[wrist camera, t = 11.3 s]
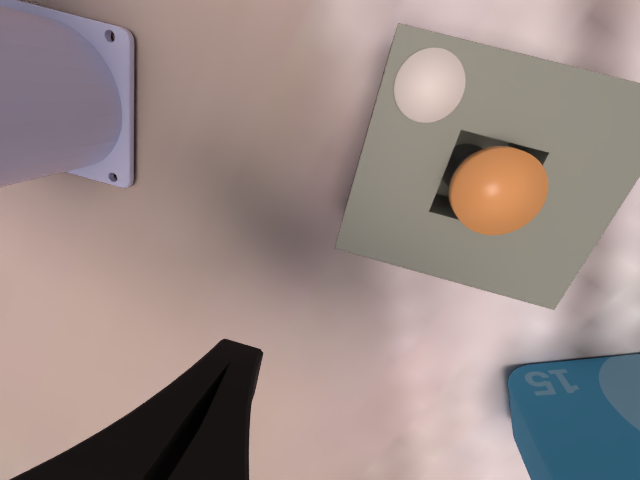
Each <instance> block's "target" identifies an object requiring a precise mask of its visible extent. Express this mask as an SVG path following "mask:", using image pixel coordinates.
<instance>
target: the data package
mask: <svg viewBox="0 0 640 480" xmlns="http://www.w3.org/2000/svg"><path fill="white" fill-rule="evenodd" d="M508 390H509V400H510V409H511V419H512V429H513V436H514V439H515V442H516V444H517V447H518V449H519V452H520V454H521V456H522V459H523V461H524V464H525V466H526V469H527V471H528V474H529V476H530V478H531V480H640V354H632V355H622V356H611V357H601V358H591V359H580V360H570V361H560V362H549V363H539V364H529V365H524V366H521V367H519V368H517V369H515V370H514V371H513V372H512V373H511V374H510V376H509V379H508Z"/></svg>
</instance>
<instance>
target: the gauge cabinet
mask: <svg viewBox="0 0 640 480" xmlns="http://www.w3.org/2000/svg"><path fill="white" fill-rule="evenodd" d="M460 144H474V145H477V146H479V147H481V148H483V149H485V148H488V147H493V146H508V147H513V148H516V149H519V150H522V151H525V152H527V153H529V154H531V155H532V156H534V157H535V158H536V159H537V160H538V161H539V162H540V163H541V164H542V166H543V167H544V169H545V171H546V174H547V177H548V194H547V197H546V200H545V203H544V205H543V207H542V208H541V210H540V211H539V213H538V214H537V215H536V216H535V217H534V218H533V219H532V220H531V221H530V222H529V223H527V224H526V225H525V226H523V227H521V228H520V229H518V230H516V231H513V232H510V233H507V234H502V235H484V234H480V233H477V232H474V231H472V230H470V229H469V228H467V227H466V226H465V225H464V224H463V223H462V222H461V221H460V220H459V219H458V217H457V216H456V214H455V213H454V211H453V210H452V207H451V205H450V201H449V187H448V186H447V184H446V183H445V182H444V181H443V179H442V177H443V175H444V172H445V169H446V167H447V164H448V162H449V159H450V157H451V154H452V152H453V149H454V147H455V146H457V145H460ZM639 177H640V83H637V82H633V81H629V80H625V79H621V78H617V77H613V76H609V75H605V74H601V73H597V72H593V71H589V70H585V69H581V68H577V67H573V66H569V65H565V64H561V63H557V62H553V61H549V60H545V59H541V58H537V57H533V56H529V55H525V54H521V53H517V52H513V51H509V50H505V49H501V48H497V47H493V46H489V45H485V44H481V43H477V42H473V41H469V40H465V39H461V38H456V37H452V36H448V35H444V34H440V33H436V32H432V31H428V30H424V29H420V28H416V27H412V26H408V25H404V24H400V23H398V26H397V29H396V33H395V36H394V39H393V42H392V45H391V48H390V52H389V56H388V59H387V63H386V66H385V70H384V73H383V77H382V80H381V84H380V88H379V91H378V95H377V98H376V102H375V105H374V109H373V112H372V116H371V119H370V123H369V127H368V130H367V134H366V137H365V141H364V144H363V148H362V151H361V155H360V158H359V162H358V166H357V169H356V173H355V176H354V180H353V183H352V187H351V190H350V194H349V197H348V201H347V205H346V208H345V212H344V215H343V219H342V223H341V227H340V231H339V234H338V238H337V242H336V246H335V249H339V250H342V251H346V252H349V253H353V254H356V255H360V256H364V257H367V258H371V259H374V260H378V261H381V262H385V263H389V264H392V265H396V266H399V267H403V268H406V269H410V270H413V271H417V272H421V273H424V274H428V275H431V276H435V277H438V278H442V279H446V280H449V281H453V282H456V283H460V284H463V285H467V286H471V287H474V288H478V289H481V290H485V291H488V292H492V293H496V294H499V295H503V296H506V297H510V298H513V299H517V300H521V301H524V302H528V303H531V304H535V305H538V306H542V307H546V308H549V309H553V310H554V309H555V308H556V306H557V305H558V303H559V302H560V300H561V299H562V297H563V295H564V294H565V292H566V291H567V289H568V288H569V286H570V284H571V283H572V281H573V280H574V278H575V277H576V275H577V274H578V272H579V270H580V269H581V267H582V266H583V264H584V263H585V261H586V259H587V258H588V256H589V255H590V253H591V252H592V250H593V249H594V247H595V245H596V244H597V242H598V241H599V239H600V238H601V236H602V234H603V233H604V231H605V230H606V228H607V227H608V225H609V224H610V222H611V220H612V219H613V217H614V216H615V214H616V213H617V211H618V209H619V208H620V206H621V205H622V203H623V202H624V200H625V199H626V197H627V195H628V194H629V192H630V191H631V189H632V188H633V186H634V185H635V183H636V181H637V180H638V178H639Z"/></svg>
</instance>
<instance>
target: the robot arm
mask: <svg viewBox="0 0 640 480" xmlns="http://www.w3.org/2000/svg"><path fill="white" fill-rule="evenodd" d="M112 32H113V33H114V35H115V40H114V41H112V40H111V33H112ZM62 172H67V173H70V174H74V175H78V176H81V177H85V178H88V179H92V180H95V181H99V182H103V183H106V184H110V185H113V186H117V187H120V188H127V187H130V186H131V185H132V184H133V181H134V38H133V36H132V33H131V32H130V31H129V30H127V29H125V28H123V27H119V26H115V25H111V24H107V23H104V22H100V21H96V20H92V19H88V18H84V17H80V16H76V15H73V14H69V13H65V12H61V11H57V10H53V9H49V8H45V7H42V6H38V5H34V4H30V3H26V2H22V1H18V0H0V187H2V186H7V185H11V184H15V183H19V182H24V181H28V180H32V179H36V178H41V177H45V176H49V175H53V174H57V173H62ZM113 174H115V175H116V176H117V180H116V179H115V178H114V175H113ZM262 357H263V352H262V351H261V349H258V348H255V347H251V346H248V345H244V344H241V343H238V342H234V341H231V340H228V339H223V340H221V341H220V342H219V343H218V344H217V345H216V346H215V347H214V348H212V349H211V350H210V351H209V352H208V353H207V354H206V355H205V356H204V357H202V358H201V359H200V360H199V361H198V362H197V363H195V364H194V365H193V366H192V367H191V368H189V369H188V370H187V371H186V372H184V373H183V374H182V375H181V376H179V377H178V378H177V379H176V380H174V381H173V382H172V383H171V384H169V385H168V386H167V387H165V388H164V389H163V390H161V391H160V392H158V393H157V394H156V395H154V396H153V397H152V398H150V399H149V400H147V401H146V402H145V403H143V404H142V405H140V406H139V407H137V408H136V409H135V410H133V411H132V412H130V413H129V414H127V415H125V416H124V417H122V418H121V419H119V420H118V421H116V422H114V423H113V424H111V425H110V426H108V427H107V428H105V429H103V430H102V431H100V432H98V433H96V434H95V435H93V436H91V437H90V438H88V439H86V440H84V441H83V442H81V443H79V444H77V445H76V446H74V447H72V448H70V449H69V450H67V451H65V452H63V453H61V454H59V455H57V456H56V457H54V458H52V459H50V460H48V461H46V462H44V463H42V464H40V465H38V466H36V467H34V468H32V469H30V470H28V471H26V472H24V473H22V474H20V475H18V476H16V477H14V478H12V479H10V480H249V428H250V412H251V403H252V399H253V396H254V393H255V389H256V384H257V380H258V375H259V370H260V366H261V361H262Z"/></svg>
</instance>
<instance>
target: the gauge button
mask: <svg viewBox="0 0 640 480" xmlns="http://www.w3.org/2000/svg"><path fill="white" fill-rule="evenodd" d="M442 179H443V181H444V182H445V183H446V184H447V186H448V187H449V201H450V205H451V207H452V210H453V211H454V213H455V214H456V216H457V217H458V219H459V220H460V221H461V222H462V223H463V224H464V225H465V226H466V227H467V228H469V229H470V230H472V231H474V232H477V233H480V234H484V235H502V234H507V233H510V232H513V231H516V230H518V229H520V228H521V227H523V226H525V225H526V224H527V223H529V222H530V221H531V220H532V219H533V218H534V217H535V216H536V215H537V214H538V213H539V211H540V210H541V208H542V207H543V205H544V203H545V200H546V197H547V194H548V177H547V174H546V171H545V169H544V167H543V166H542V164H541V163H540V162H539V161H538V160H537V159H536V158H535V157H534V156H532V155H531V154H529V153H527V152H525V151H522V150H519V149H516V148H513V147H508V146H493V147H488V148H485V149H483V148H481V147H479V146H477V145H474V144H460V145H457V146H455V147H454V149H453V152H452V154H451V157H450V159H449V162H448V164H447V167H446V169H445V172H444V175H443V177H442Z"/></svg>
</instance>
